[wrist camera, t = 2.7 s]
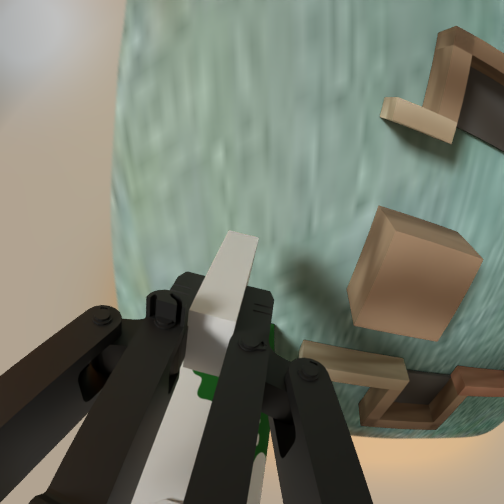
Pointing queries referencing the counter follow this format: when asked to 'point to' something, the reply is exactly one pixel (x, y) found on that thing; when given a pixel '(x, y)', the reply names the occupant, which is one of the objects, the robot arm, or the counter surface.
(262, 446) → the milk carton
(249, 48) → the counter surface
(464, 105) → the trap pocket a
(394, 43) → the counter surface
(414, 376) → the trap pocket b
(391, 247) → the block
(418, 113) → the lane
